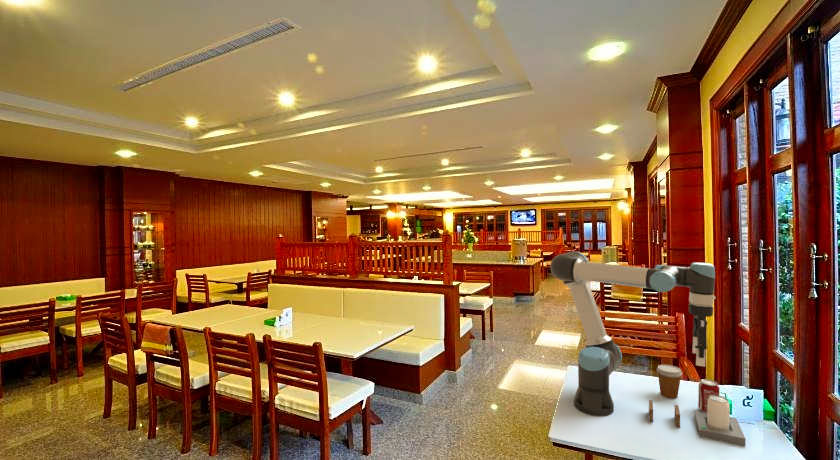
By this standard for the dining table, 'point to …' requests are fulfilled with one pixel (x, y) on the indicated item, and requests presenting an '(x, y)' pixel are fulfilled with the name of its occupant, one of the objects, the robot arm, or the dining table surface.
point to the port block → (719, 430)
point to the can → (718, 412)
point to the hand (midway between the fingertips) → (698, 359)
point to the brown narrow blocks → (677, 413)
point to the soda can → (706, 393)
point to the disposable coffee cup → (669, 380)
